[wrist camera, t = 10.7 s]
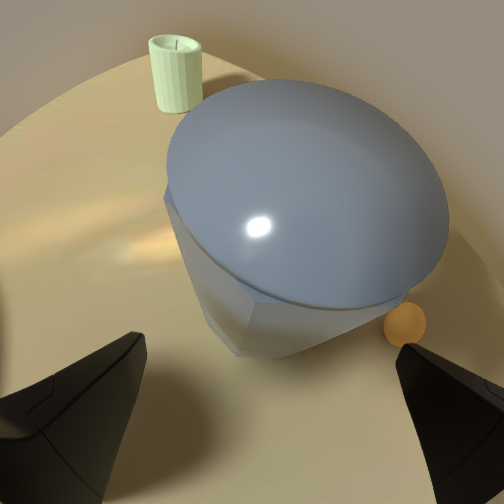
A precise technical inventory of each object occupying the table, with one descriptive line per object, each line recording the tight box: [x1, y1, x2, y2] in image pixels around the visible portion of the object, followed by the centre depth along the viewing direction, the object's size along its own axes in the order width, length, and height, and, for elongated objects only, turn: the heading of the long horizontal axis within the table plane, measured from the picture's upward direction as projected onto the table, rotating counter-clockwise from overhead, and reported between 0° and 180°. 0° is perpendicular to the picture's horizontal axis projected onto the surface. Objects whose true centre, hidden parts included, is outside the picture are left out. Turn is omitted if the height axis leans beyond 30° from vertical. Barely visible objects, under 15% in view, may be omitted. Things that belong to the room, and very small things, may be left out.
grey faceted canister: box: [164, 79, 449, 359], centre depth 11 cm, size 7×7×12 cm
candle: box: [148, 35, 203, 114], centre depth 22 cm, size 5×5×8 cm
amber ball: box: [383, 302, 426, 347], centre depth 15 cm, size 3×3×3 cm
